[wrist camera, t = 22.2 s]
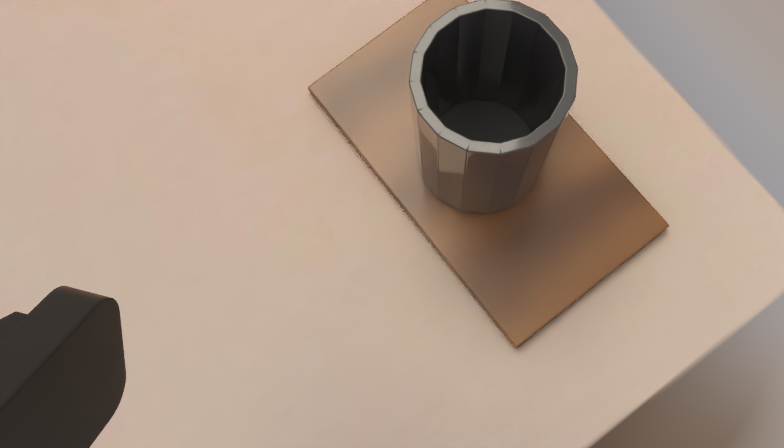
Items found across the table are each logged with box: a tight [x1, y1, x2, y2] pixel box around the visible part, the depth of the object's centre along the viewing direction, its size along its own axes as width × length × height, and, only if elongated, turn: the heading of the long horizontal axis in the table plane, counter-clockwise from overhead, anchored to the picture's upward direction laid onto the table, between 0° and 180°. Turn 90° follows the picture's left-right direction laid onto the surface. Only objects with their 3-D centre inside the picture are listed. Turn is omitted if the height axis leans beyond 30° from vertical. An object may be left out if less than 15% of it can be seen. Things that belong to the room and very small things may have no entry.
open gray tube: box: [409, 0, 578, 214], centre depth 31 cm, size 6×6×9 cm
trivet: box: [308, 0, 669, 348], centre depth 35 cm, size 16×9×1 cm, turn 37°
